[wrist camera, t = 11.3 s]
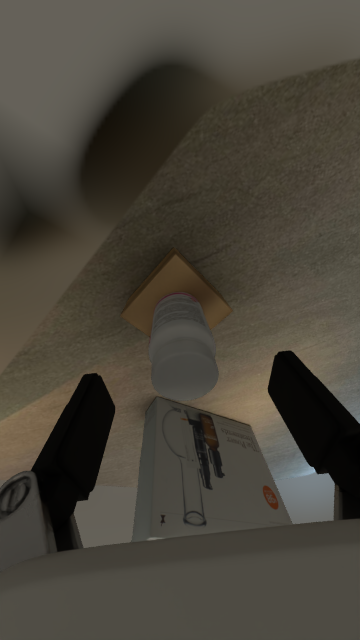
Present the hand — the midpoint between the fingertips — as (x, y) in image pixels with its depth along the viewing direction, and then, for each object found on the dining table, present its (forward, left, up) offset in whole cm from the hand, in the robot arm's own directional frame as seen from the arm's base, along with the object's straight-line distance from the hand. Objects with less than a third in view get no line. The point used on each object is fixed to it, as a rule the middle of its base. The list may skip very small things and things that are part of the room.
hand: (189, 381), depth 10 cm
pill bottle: (0, 0, -9) cm, 9 cm away
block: (0, 0, -13) cm, 13 cm away
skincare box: (+25, +2, -14) cm, 29 cm away
